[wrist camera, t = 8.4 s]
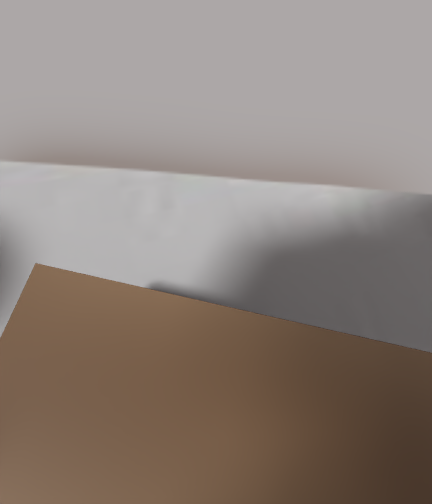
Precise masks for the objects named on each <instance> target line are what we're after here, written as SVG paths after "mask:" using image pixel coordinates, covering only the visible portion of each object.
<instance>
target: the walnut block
mask: <svg viewBox="0 0 432 504" xmlns="http://www.w3.org/2000/svg"><path fill="white" fill-rule="evenodd" d="M0 504H432V353H430V352H426V351H421V350H417V349H412V348H408V347H403V346H399V345H395V344H390V343H386V342H381V341H377V340H373V339H368V338H364V337H359V336H355V335H350V334H346V333H342V332H337V331H333V330H328V329H324V328H320V327H315V326H311V325H306V324H302V323H297V322H293V321H289V320H284V319H280V318H275V317H271V316H267V315H262V314H258V313H253V312H249V311H244V310H240V309H236V308H231V307H227V306H222V305H218V304H213V303H209V302H205V301H200V300H196V299H191V298H187V297H183V296H178V295H174V294H169V293H165V292H160V291H156V290H152V289H147V288H143V287H138V286H134V285H130V284H125V283H121V282H116V281H112V280H107V279H103V278H99V277H94V276H90V275H85V274H81V273H76V272H72V271H68V270H63V269H59V268H54V267H50V266H46V265H41V264H37V263H35V266H34V268H33V270H32V272H31V274H30V276H29V278H28V281H27V283H26V285H25V287H24V289H23V291H22V293H21V295H20V298H19V300H18V302H17V304H16V306H15V308H14V310H13V313H12V315H11V317H10V319H9V321H8V323H7V325H6V327H5V330H4V332H3V334H2V336H1V338H0Z"/></svg>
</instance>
